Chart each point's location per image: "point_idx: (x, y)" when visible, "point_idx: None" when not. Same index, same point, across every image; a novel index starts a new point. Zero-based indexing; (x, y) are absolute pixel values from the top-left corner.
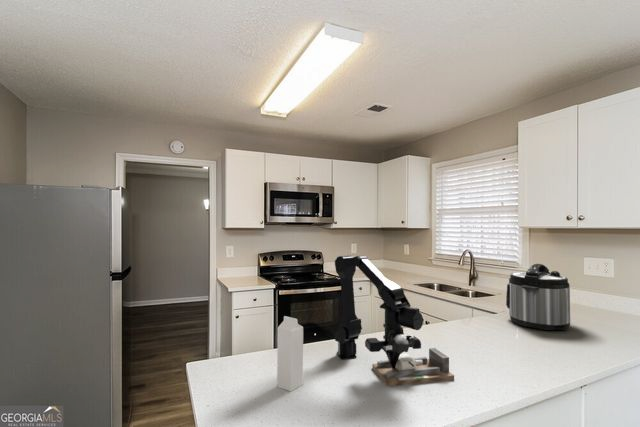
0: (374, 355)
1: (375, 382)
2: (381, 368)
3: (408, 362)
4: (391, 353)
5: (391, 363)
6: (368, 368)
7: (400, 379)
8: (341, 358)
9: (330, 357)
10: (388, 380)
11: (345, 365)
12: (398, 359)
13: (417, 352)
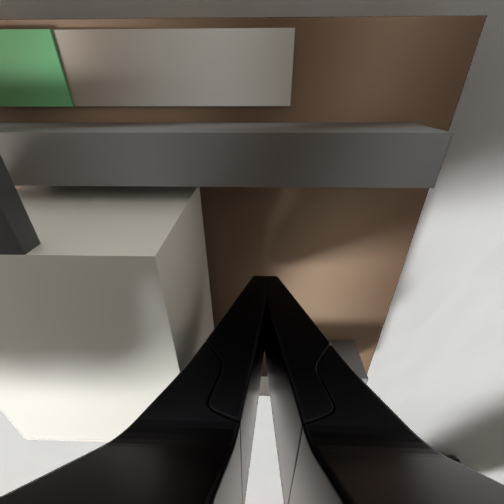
0: (256, 457)
1: (496, 161)
2: (336, 327)
3: (33, 240)
4: (427, 490)
5: (304, 311)
6: (379, 364)
7: (278, 49)
8: (459, 461)
9: (491, 473)
10: (444, 66)
11: (489, 410)
12: (182, 355)
13: (9, 447)
